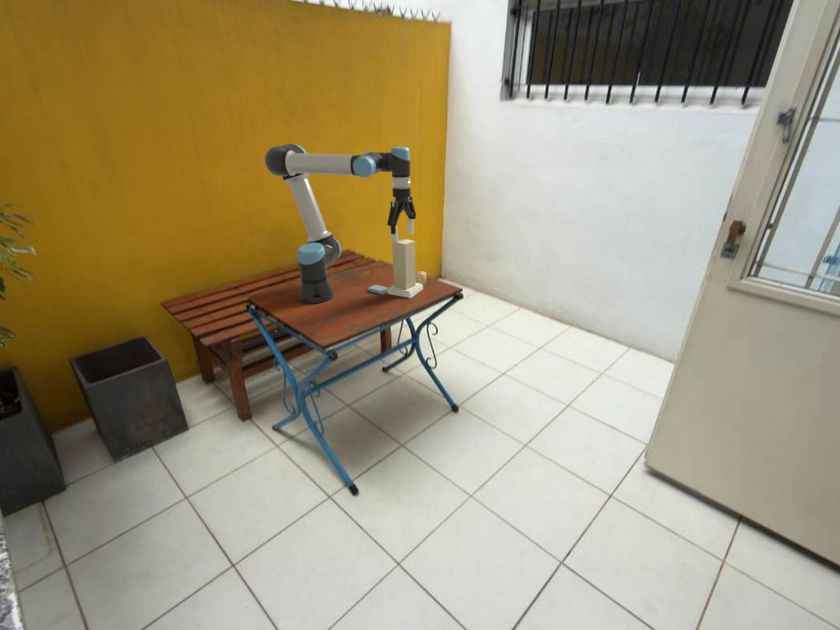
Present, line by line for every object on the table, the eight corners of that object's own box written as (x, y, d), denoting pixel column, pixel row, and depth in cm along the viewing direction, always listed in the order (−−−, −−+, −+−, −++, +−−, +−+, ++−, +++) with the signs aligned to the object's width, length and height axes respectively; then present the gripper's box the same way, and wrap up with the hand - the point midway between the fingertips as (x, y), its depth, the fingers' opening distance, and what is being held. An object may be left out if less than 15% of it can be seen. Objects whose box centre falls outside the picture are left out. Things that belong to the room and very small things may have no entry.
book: (368, 291, 200) (368, 287, 199) (375, 288, 204) (375, 284, 203) (382, 295, 196) (381, 291, 195) (388, 291, 200) (388, 287, 199)
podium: (387, 293, 196) (387, 288, 195) (400, 284, 206) (400, 279, 205) (410, 298, 191) (410, 292, 190) (423, 289, 201) (423, 283, 199)
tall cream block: (417, 285, 197) (416, 240, 188) (406, 290, 192) (404, 244, 183) (404, 281, 202) (403, 237, 193) (393, 285, 197) (391, 241, 188)
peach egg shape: (414, 285, 205) (413, 273, 202) (419, 282, 209) (418, 270, 206) (423, 287, 203) (423, 275, 200) (428, 283, 207) (428, 271, 204)
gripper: (393, 192, 167) (395, 245, 176) (423, 183, 187) (423, 231, 196) (377, 191, 170) (379, 243, 179) (408, 182, 190) (409, 229, 199)
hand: (402, 237), depth 188 cm, fingers open, 13 cm apart
